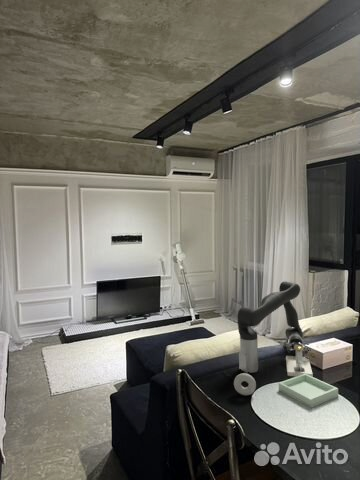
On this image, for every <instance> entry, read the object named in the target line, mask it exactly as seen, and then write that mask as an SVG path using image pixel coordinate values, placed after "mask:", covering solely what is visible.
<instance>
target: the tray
mask: <svg viewBox="0 0 360 480" xmlns="http://www.w3.org/2000/svg"><path fill="white" fill-rule="evenodd" d="M278 391H280V392H281V393H283V394H285V395H287V396H289V397H290V398H292V399H294V400H296V401H298V402H299V403H301V404H303V405H304V406H307V407H308V408H310V409H311V408H313V407H316V406H318V405H320V404H323V403H325V402H327V401H330V400H333V399H335V398H337V397H339V388H338V387H336V386H334V385H331V384H329V383H327V382H325V381H322V380H320V379H318V378H316V377H312V376H309V375H307V374H302V375H300V376H297V377H296V376H293V377H291V378H289V379H286V380H283V381H280V382H278Z"/></svg>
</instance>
